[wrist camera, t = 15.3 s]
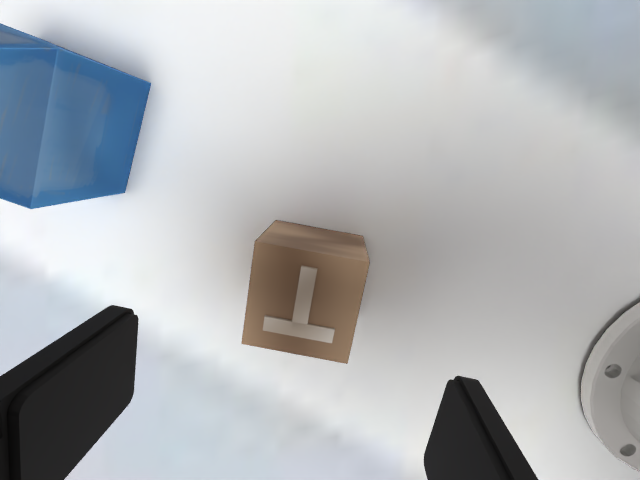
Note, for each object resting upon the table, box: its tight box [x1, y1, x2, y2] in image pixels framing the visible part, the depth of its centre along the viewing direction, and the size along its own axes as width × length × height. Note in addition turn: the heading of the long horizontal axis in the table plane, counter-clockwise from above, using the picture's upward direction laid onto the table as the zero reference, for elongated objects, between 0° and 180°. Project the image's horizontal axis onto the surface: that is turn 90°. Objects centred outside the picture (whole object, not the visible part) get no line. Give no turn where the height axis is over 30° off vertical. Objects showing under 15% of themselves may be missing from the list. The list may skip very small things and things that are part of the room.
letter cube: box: [242, 220, 370, 364], centre depth 18 cm, size 5×5×5 cm
